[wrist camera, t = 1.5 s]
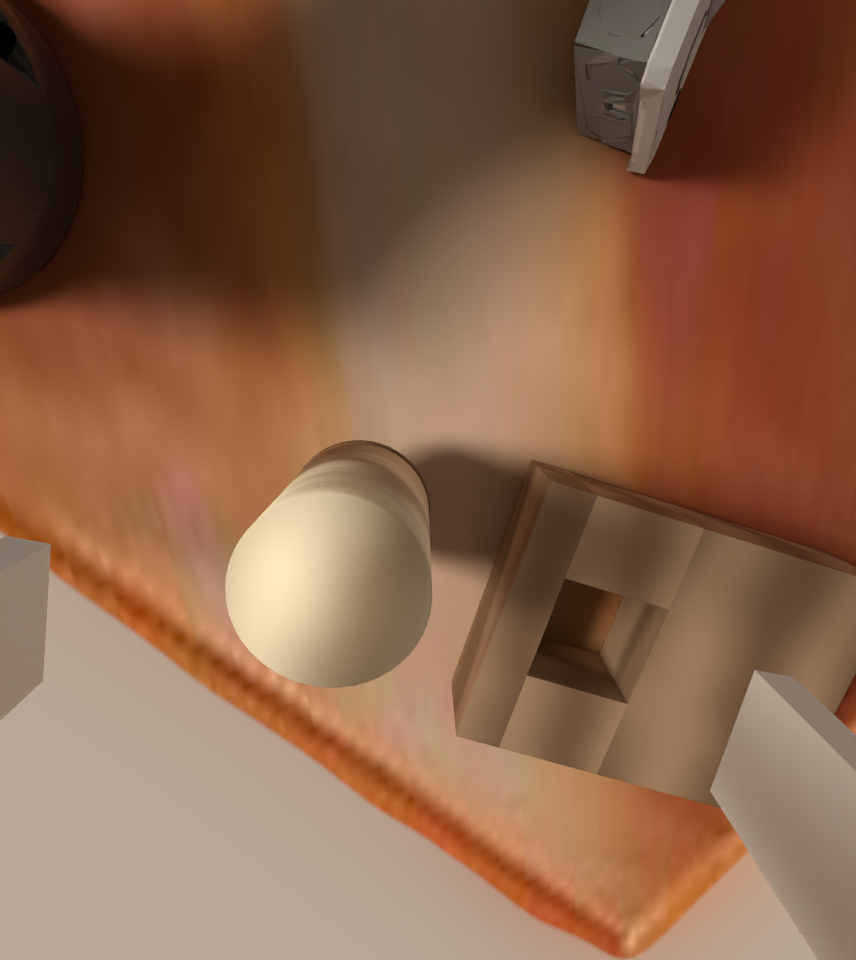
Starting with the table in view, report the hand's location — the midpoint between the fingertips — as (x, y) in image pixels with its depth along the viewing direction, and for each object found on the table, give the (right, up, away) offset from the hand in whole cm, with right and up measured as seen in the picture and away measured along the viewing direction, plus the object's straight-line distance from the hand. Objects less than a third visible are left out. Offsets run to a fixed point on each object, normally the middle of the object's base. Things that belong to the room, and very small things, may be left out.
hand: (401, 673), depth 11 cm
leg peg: (-3, +3, +22) cm, 22 cm away
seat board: (+13, -4, +23) cm, 27 cm away
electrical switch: (+10, +23, +17) cm, 31 cm away
